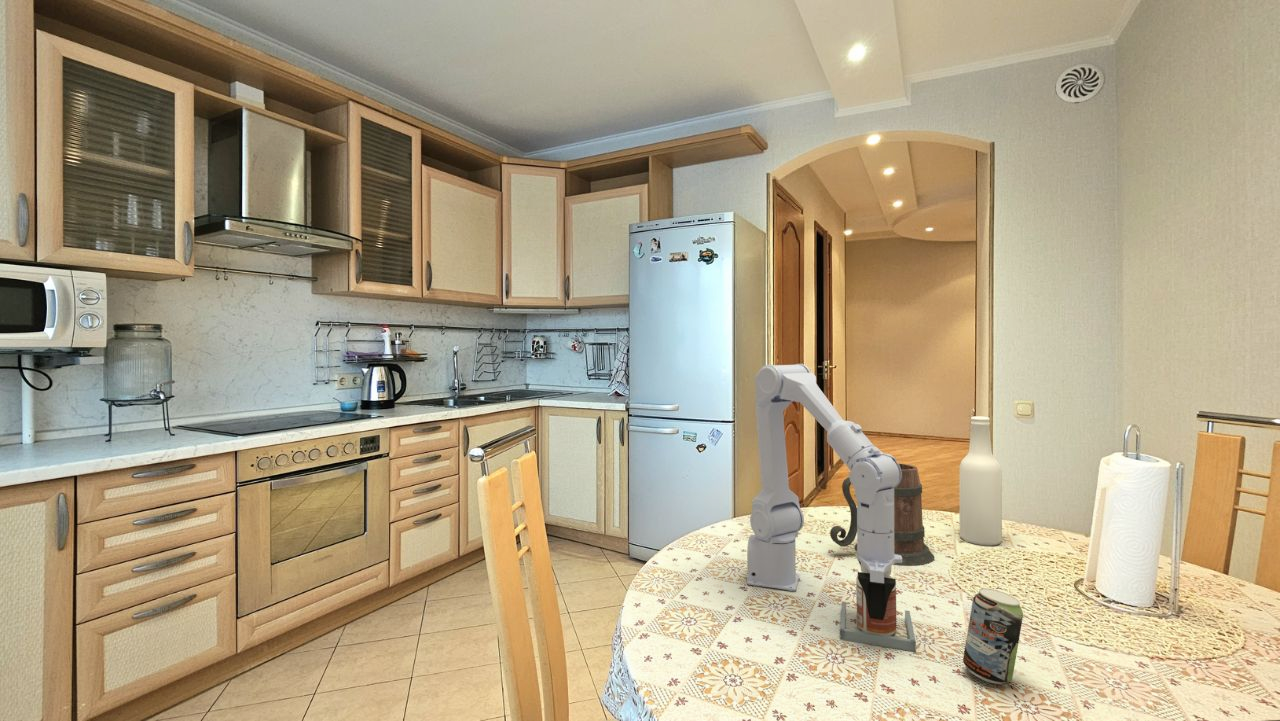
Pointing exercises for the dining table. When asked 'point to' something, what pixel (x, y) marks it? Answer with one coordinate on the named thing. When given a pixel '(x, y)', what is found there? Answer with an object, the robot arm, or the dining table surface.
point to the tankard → (896, 520)
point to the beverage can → (993, 636)
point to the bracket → (878, 635)
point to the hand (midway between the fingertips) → (875, 608)
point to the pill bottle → (863, 619)
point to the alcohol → (980, 489)
